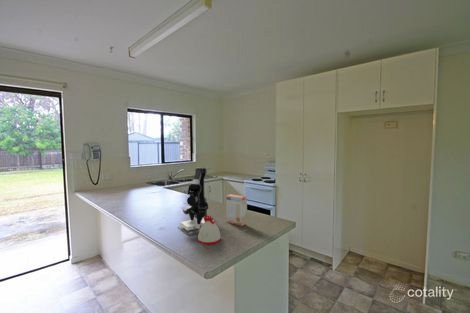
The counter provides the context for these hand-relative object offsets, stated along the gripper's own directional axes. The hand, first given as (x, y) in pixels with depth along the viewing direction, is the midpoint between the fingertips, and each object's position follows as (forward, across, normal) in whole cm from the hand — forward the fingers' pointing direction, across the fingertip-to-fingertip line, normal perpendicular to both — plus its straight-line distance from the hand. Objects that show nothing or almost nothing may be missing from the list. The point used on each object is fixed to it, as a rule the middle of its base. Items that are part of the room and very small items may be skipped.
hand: (195, 223), depth 150 cm
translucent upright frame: (+4, +9, +29) cm, 30 cm away
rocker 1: (0, 0, -4) cm, 4 cm away
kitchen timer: (+4, +21, -1) cm, 21 cm away
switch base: (+4, 0, +2) cm, 4 cm away
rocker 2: (0, 0, +7) cm, 7 cm away
